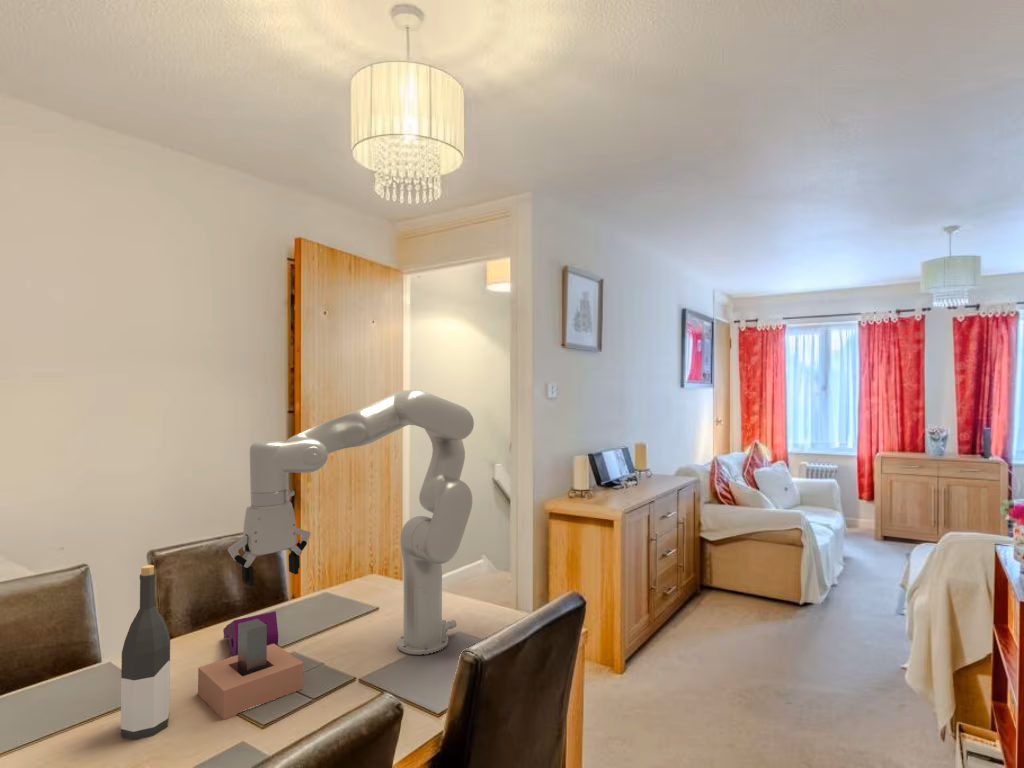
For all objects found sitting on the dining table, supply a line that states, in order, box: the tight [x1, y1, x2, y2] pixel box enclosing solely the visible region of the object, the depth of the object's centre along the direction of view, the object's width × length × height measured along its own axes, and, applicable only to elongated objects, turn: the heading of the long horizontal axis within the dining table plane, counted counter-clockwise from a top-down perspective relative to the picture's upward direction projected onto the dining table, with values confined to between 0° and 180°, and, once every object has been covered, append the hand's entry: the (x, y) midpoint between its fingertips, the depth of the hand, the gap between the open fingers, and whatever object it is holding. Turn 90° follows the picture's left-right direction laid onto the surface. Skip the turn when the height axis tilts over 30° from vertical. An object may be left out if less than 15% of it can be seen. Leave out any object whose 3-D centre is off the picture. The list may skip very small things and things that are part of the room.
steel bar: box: [238, 619, 267, 676], centre depth 121 cm, size 4×5×14 cm
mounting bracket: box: [222, 611, 279, 657], centre depth 143 cm, size 10×8×18 cm
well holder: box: [197, 644, 304, 721], centre depth 121 cm, size 16×14×6 cm
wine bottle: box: [120, 564, 171, 741], centre depth 108 cm, size 8×8×30 cm
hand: (271, 578), depth 123 cm, fingers open, 9 cm apart
